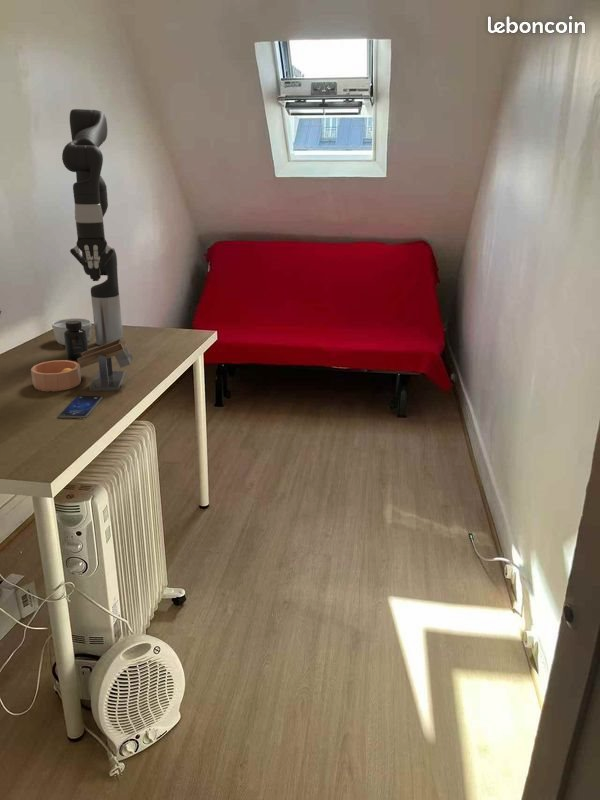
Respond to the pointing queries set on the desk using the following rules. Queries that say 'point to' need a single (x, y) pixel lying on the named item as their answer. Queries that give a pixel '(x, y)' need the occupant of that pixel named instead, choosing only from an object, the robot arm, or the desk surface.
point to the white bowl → (60, 328)
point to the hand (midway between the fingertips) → (95, 280)
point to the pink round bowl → (56, 375)
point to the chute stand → (106, 376)
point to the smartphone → (80, 407)
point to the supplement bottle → (75, 340)
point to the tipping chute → (107, 353)
